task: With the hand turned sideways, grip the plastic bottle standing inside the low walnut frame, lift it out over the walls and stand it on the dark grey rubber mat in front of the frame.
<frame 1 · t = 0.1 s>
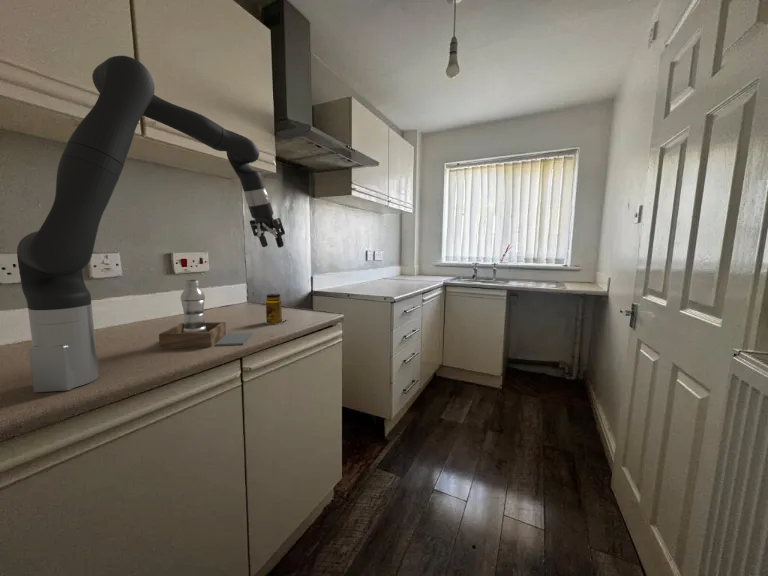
hand: (273, 246, 111), 31 cm above the countertop, tool tilted 20°, fingers open, 8 cm apart
walnut frame: (195, 341, 96), on the countertop
grey mat: (235, 339, 99), on the countertop
condiment: (275, 322, 124), on the countertop
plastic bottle: (195, 341, 96), resting in walnut frame
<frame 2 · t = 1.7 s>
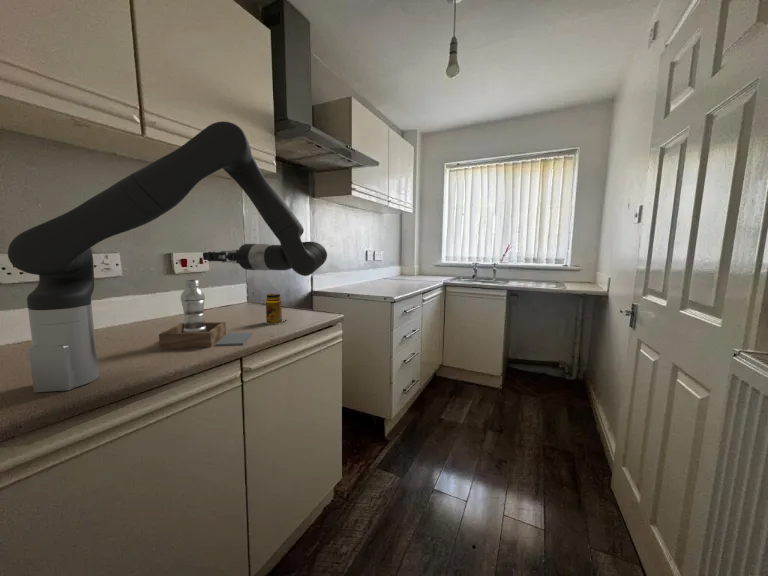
hand: (216, 255, 89), 28 cm above the countertop, tool horizontal, fingers open, 8 cm apart
nothing on the countertop moved.
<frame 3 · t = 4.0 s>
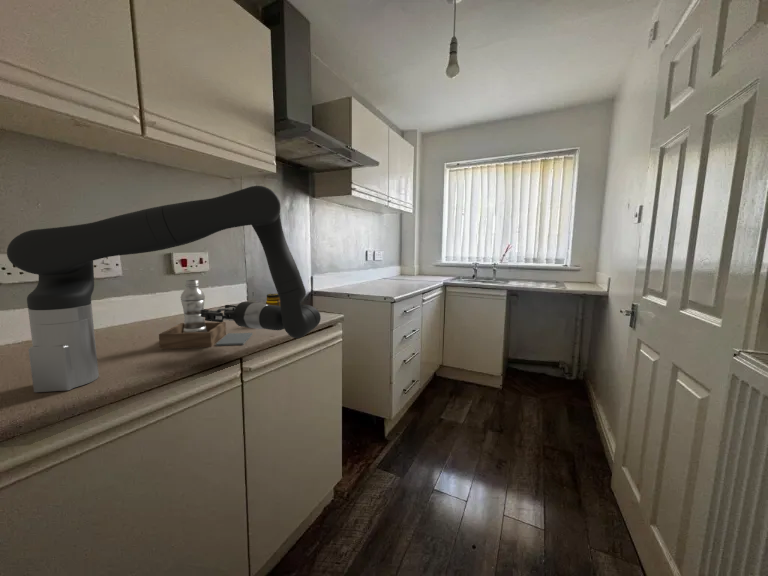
hand: (214, 310, 92), 11 cm above the countertop, tool horizontal, fingers open, 8 cm apart
nothing on the countertop moved.
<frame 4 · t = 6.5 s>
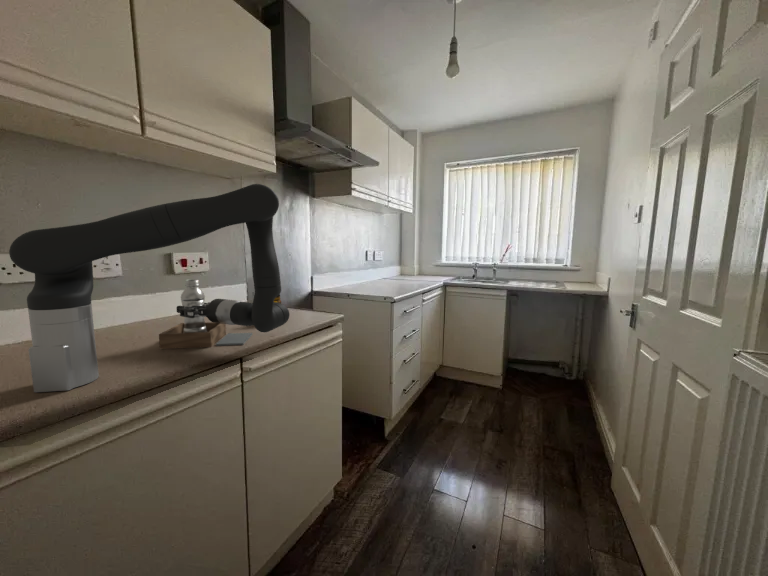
hand: (188, 307, 96), 11 cm above the countertop, tool horizontal, fingers closed on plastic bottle, 6 cm apart
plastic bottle: (195, 341, 96), resting in walnut frame, touching gripper
everything else where it was.
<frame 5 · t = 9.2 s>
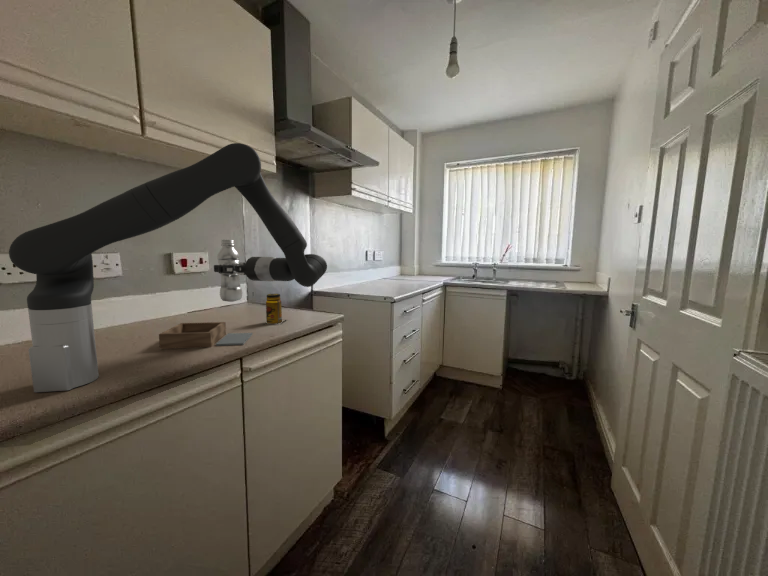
hand: (224, 267, 96), 24 cm above the countertop, tool horizontal, fingers closed on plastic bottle, 6 cm apart
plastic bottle: (231, 302, 97), point 13 cm above the countertop, touching gripper
everything else where it was.
when the fingers open (13 cm above the countertop, at t = 12.0 s): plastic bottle stays where it is, resting on grey mat.
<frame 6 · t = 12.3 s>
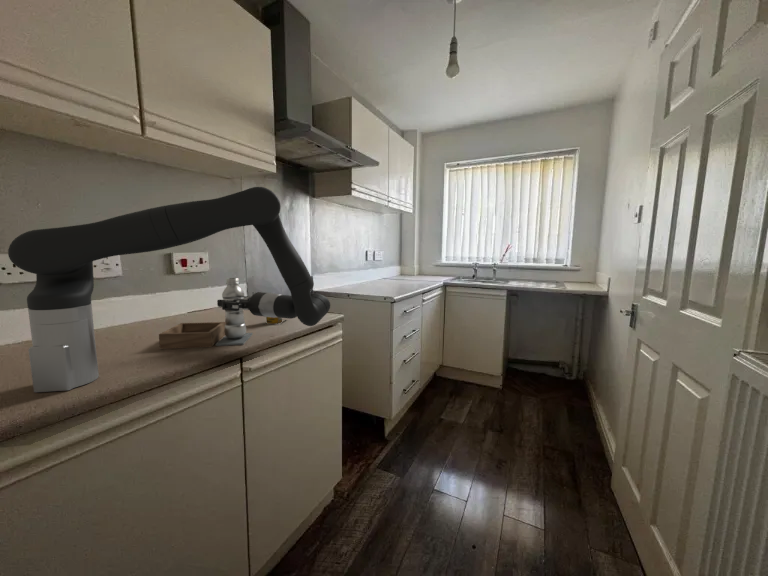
hand: (229, 301, 98), 13 cm above the countertop, tool horizontal, fingers open, 8 cm apart
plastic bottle: (235, 338, 99), resting on grey mat
everything else where it was.
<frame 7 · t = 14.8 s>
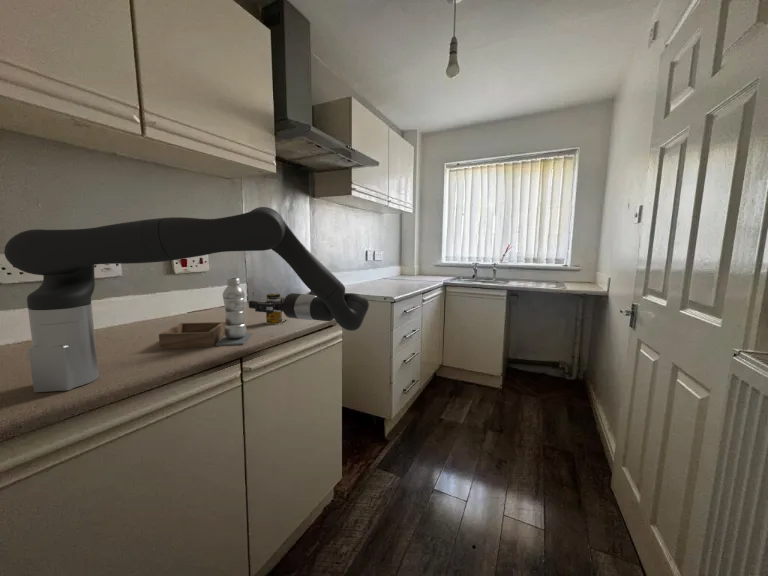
hand: (259, 302, 93), 14 cm above the countertop, tool horizontal, fingers open, 8 cm apart
nothing on the countertop moved.
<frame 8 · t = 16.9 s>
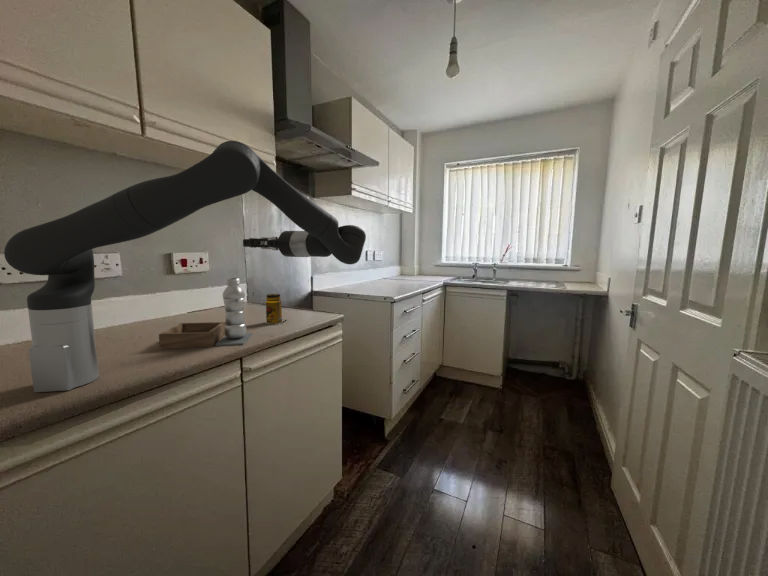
hand: (254, 243, 91), 32 cm above the countertop, tool horizontal, fingers open, 8 cm apart
nothing on the countertop moved.
at the end: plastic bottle inside the target area on the grey mat (0.2 cm from its centre), point 0.4 cm above the grey mat's base; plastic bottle tilted 0°; the gripper is holding nothing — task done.
